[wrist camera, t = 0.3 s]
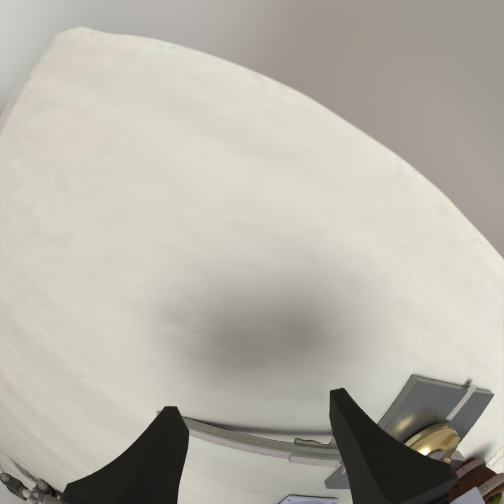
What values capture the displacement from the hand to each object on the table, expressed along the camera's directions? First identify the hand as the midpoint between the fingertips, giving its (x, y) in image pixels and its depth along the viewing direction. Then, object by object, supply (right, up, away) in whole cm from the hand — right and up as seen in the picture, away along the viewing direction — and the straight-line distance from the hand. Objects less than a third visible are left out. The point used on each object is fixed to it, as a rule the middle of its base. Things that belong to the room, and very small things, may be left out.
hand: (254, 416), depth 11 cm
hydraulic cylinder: (-44, -50, +18) cm, 69 cm away
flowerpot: (+37, -34, +13) cm, 52 cm away
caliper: (0, -10, +12) cm, 16 cm away
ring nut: (+23, -18, +10) cm, 31 cm away
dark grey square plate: (+21, -16, +11) cm, 29 cm away
